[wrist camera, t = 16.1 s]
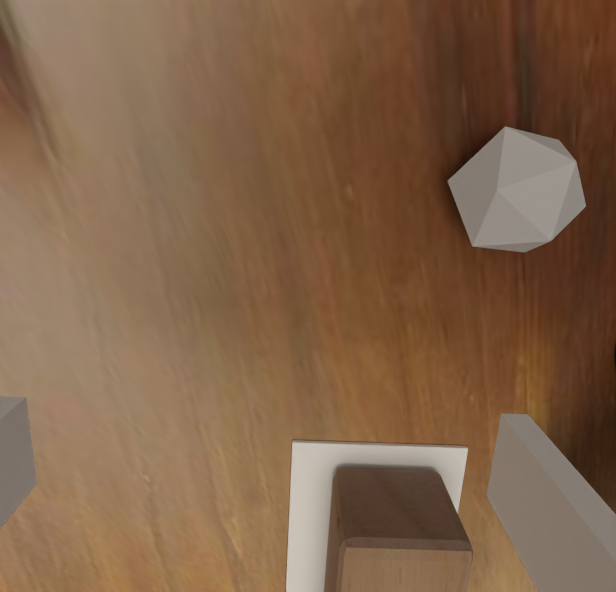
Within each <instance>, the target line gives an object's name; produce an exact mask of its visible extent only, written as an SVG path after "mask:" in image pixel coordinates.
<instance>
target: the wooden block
mask: <svg viewBox="0 0 616 592" xmlns="http://www.w3.org/2000/svg"><path fill="white" fill-rule="evenodd" d="M472 558H473V550H472V547H471V544H470V541H469V539H468V537H467V534H466V532H465V530H464V528H463V525H462V523H461V521H460V518H459V516H458V514H457V512H456V509H455V507H454V505H453V502H452V500H451V498H450V496H449V493H448V491H447V489H446V486H445V484H444V482H443V480H442V477H441V475H440V474H439V473H437V472H435V471H432V470H414V469H386V468H359V467H342V468H339V469H337V471H336V473H335V475H334V477H333V482H332V495H331V508H330V521H329V533H328V546H327V559H326V572H325V585H324V592H467V586H468V581H469V575H470V570H471V564H472Z"/></svg>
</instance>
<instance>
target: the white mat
mask: <svg viewBox="0 0 616 592" xmlns="http://www.w3.org/2000/svg"><path fill="white" fill-rule="evenodd" d="M467 453H468V447H467V446H460V445H430V444H399V443H369V442H338V441H308V440H293V441H292V464H291V487H290V509H289V532H288V555H287V578H286V592H324V585H325V572H326V559H327V546H328V533H329V521H330V508H331V495H332V482H333V477H334V475H335V473H336V471H337V469H339V468H342V467H359V468H386V469H414V470H432V471H435V472H437V473H439V474H440V475H441V477H442V480H443V482H444V484H445V486H446V489H447V491H448V493H449V496H450V498H451V500H452V502H453V505H454V507H455V509H456V512H457V514H458V508H459V502H460V496H461V490H462V484H463V477H464V471H465V465H466V459H467Z"/></svg>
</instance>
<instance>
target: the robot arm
mask: <svg viewBox="0 0 616 592" xmlns="http://www.w3.org/2000/svg"><path fill="white" fill-rule="evenodd" d="M615 363H616V352H615ZM36 484H37V479H36V471H35V463H34V456H33V448H32V440H31V432H30V424H29V417H28V409H27V401H26V397H6V396H0V529H1V528H2V526H3V525H4V524H5V523H6V521H7V520H8V519H9V518H10V516H11V515H12V514H13V513H14V511H15V510H16V509H17V508H18V506H19V505H20V504H21V503H22V501H23V500H24V499H25V498H26V496H27V495H28V494H29V493H30V491H31V490H32V489H33V488H34V486H35V485H36ZM486 497H487V499H488V500H489V502H490V504H491V506H492V508H493V510H494V511H495V513H496V515H497V517H498V519H499V521H500V522H501V524H502V526H503V528H504V530H505V532H506V533H507V535H508V537H509V539H510V541H511V543H512V545H513V546H514V548H515V550H516V552H517V554H518V556H519V557H520V559H521V561H522V563H523V565H524V567H525V568H526V570H527V572H528V574H529V576H530V578H531V579H532V581H533V583H534V585H535V587H536V589H537V590H538V592H616V514H615V513H614V512H613V511H612V510H611V509H610V507H609V506H608V505H607V504H606V503H605V502H604V501H603V499H602V498H601V497H600V496H599V495H598V494H597V493H596V491H595V490H594V489H593V488H592V487H591V486H590V485H589V483H588V482H587V481H586V480H585V479H584V478H583V477H582V475H581V474H580V473H579V472H578V471H577V470H576V469H575V468H574V466H573V465H572V464H571V463H570V462H569V461H568V460H567V458H566V457H565V456H564V455H563V454H562V453H561V452H560V450H559V449H558V448H557V447H556V446H555V445H554V444H553V442H552V441H551V440H550V439H549V438H548V437H547V436H546V434H545V433H544V432H543V431H542V430H541V429H540V428H539V426H538V425H537V424H536V423H535V422H534V421H533V420H532V418H531V417H530V416H529V415H526V414H501V417H500V423H499V429H498V434H497V440H496V445H495V451H494V457H493V462H492V468H491V473H490V479H489V485H488V490H487V496H486Z"/></svg>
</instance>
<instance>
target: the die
mask: <svg viewBox="0 0 616 592" xmlns="http://www.w3.org/2000/svg"><path fill="white" fill-rule="evenodd" d="M448 184H449V186H450V189H451V192H452V194H453V197H454V200H455V202H456V205H457V207H458V210H459V213H460V215H461V218H462V221H463V223H464V226H465V228H466V231H467V234H468V236H469V239H470V241H471V244H472V246H473V247H482V248H490V249H499V250H507V251H516V252H524V253H525V252H527V251H529V250H532V249H534V248H536V247H539V246H541V245H543V244H546V243H548V242H550V241H552V240H553V239H554V238H555V237H556V236H557V235H558V234H559V233H560V232H561V231H562V230H563V229H564V228H565V227H566V226H567V225H568V224H569V223H570V222H571V221H572V220H573V219H574V218H575V217H576V216H577V215H578V214H579V213H580V212H581V211H582V210H583V209H584V208H585V207H586V203H585V199H584V194H583V190H582V185H581V181H580V176H579V171H578V167H577V162H576V160H575V159H574V158H573V157H572V155H571V154H570V153H569V152H568V150H567V149H566V148H565V147H564V145H563V144H562V143H561V142H560V140H557V139H553V138H549V137H545V136H541V135H537V134H533V133H529V132H525V131H521V130H518V129H514V128H510V127H506V126H505V127H504V128H503V129H502V130H501V131H500V132H499V133H498V134H497V135H496V136H495V137H493V138H492V139H491V140H490V141H489V142H488V143H487V144H486V145H485V146H484V147H483V148H482V149H481V150H480V151H479V152H478V153H477V154H475V155H474V156H473V157H472V158H471V159H470V160H469V161H468V162H467V163H466V164H465V165H464V166H463V167H462V168H461V169H460V170H458V171H457V172H456V173H455V174H454V175H453V176H452V177H451V178H450V179H449V180H448Z"/></svg>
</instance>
